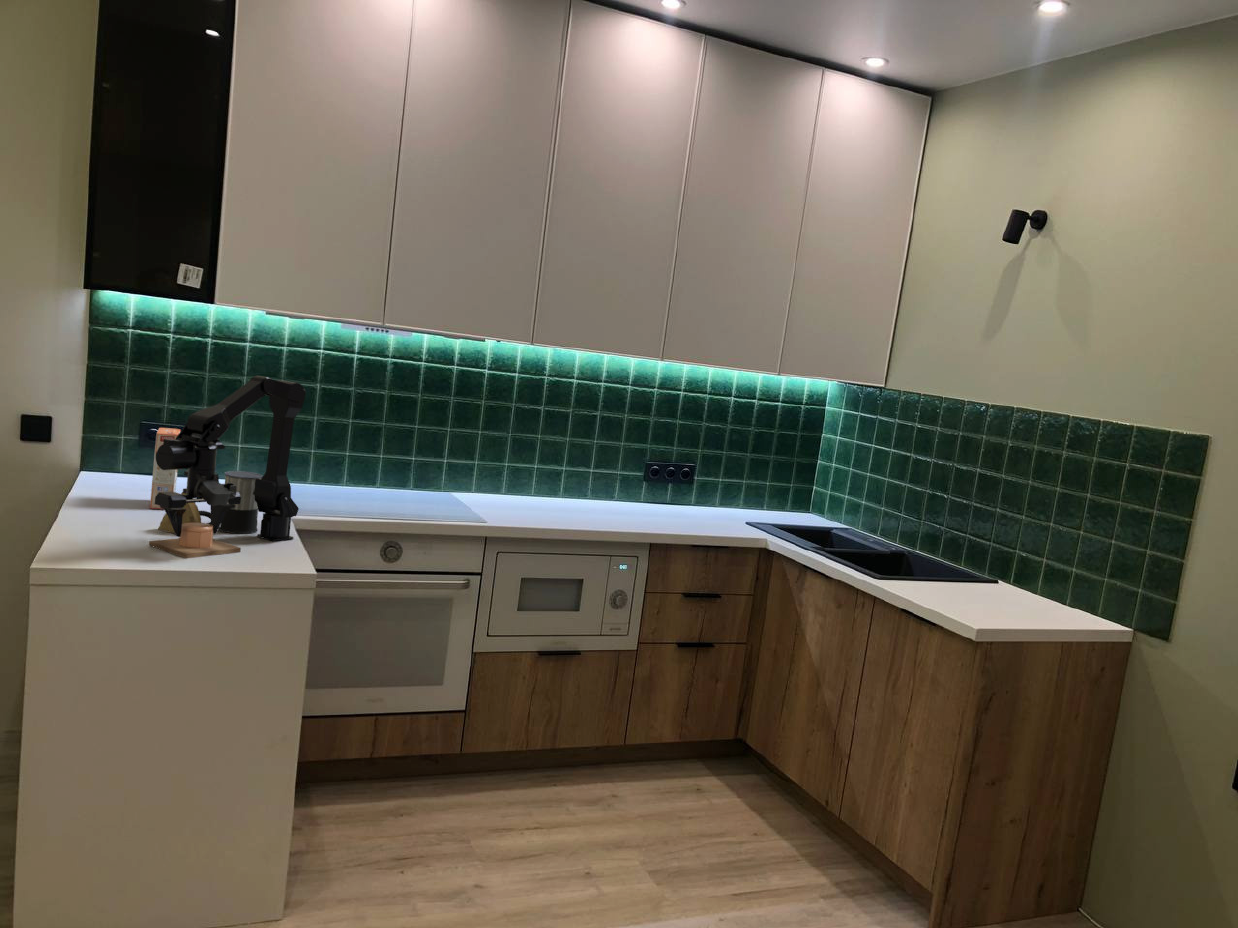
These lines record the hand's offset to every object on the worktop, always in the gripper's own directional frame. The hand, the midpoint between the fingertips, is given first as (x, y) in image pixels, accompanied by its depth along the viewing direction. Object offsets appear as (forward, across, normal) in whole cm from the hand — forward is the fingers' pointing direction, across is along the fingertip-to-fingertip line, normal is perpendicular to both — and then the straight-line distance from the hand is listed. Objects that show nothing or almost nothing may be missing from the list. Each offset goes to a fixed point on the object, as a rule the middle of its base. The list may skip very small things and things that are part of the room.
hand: (196, 534), depth 229 cm
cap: (+2, 0, 0) cm, 2 cm away
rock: (+4, +7, +16) cm, 18 cm away
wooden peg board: (+3, 0, 0) cm, 3 cm away
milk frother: (+4, +19, +16) cm, 25 cm away
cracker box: (+4, +23, +48) cm, 53 cm away
